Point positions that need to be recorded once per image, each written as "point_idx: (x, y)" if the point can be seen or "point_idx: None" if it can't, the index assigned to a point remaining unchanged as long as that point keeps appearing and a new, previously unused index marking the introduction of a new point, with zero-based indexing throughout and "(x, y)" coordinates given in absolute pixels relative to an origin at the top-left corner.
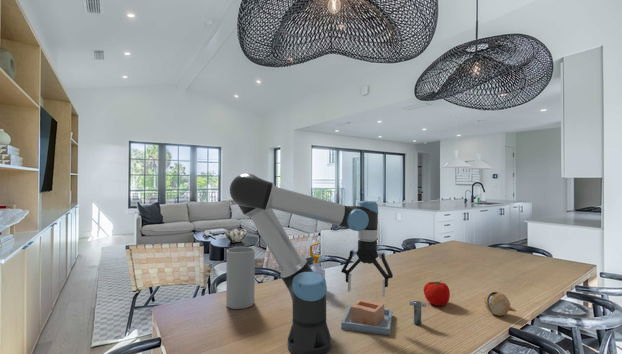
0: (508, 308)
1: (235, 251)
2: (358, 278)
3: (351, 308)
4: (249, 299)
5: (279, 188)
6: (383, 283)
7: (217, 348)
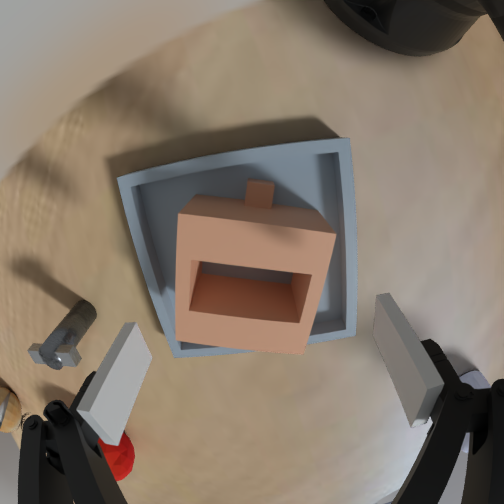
0: None
1: None
2: (346, 481)
3: (330, 230)
4: None
5: None
6: (97, 385)
7: None
